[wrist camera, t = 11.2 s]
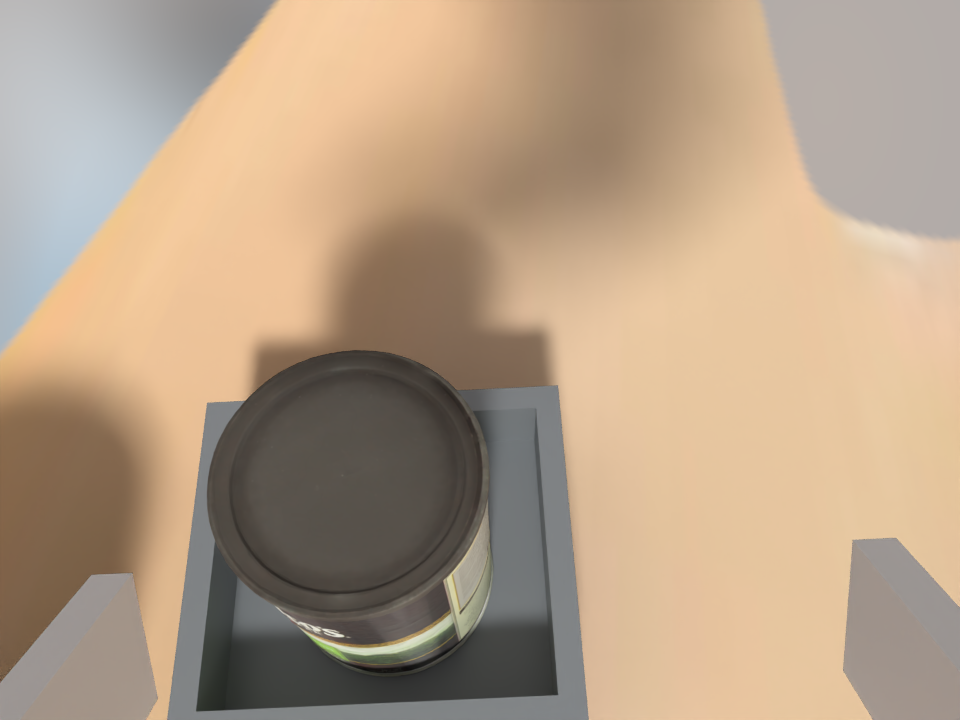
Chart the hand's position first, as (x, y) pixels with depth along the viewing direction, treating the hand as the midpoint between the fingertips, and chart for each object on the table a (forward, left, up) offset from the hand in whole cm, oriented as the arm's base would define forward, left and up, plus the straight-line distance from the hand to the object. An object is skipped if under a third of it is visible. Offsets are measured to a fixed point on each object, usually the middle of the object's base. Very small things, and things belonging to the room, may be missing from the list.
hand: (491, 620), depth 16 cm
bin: (+5, -8, -30) cm, 32 cm away
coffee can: (+5, -8, -27) cm, 29 cm away
